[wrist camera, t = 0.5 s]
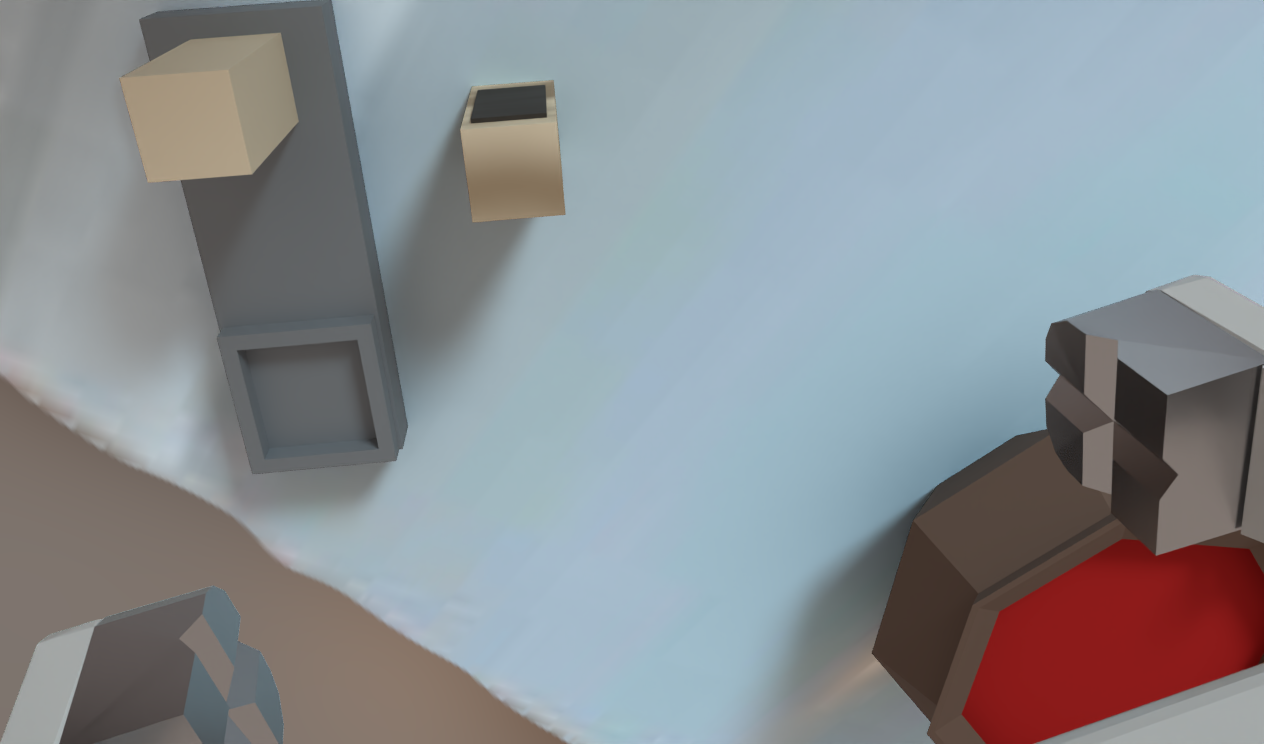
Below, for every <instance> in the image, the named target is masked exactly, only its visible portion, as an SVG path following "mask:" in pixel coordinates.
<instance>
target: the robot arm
mask: <svg viewBox="0 0 1264 744" xmlns="http://www.w3.org/2000/svg"><path fill="white" fill-rule="evenodd" d="M1045 361H1046V362H1047V363H1048V364H1049V365H1050V366H1051V367H1052V368H1053V369H1054V370H1055V371H1056V372H1057V373H1058V374H1059V375H1060V376H1059V377H1058V379H1057V381H1056V382H1055V384H1054V385H1053V387H1052V389H1051V390H1050V392H1049V394H1048V395H1047V397H1046V399H1045V403H1046V426H1047V430H1048V433H1049V435H1050V438H1051V441H1052V444H1053V447H1054V450H1055V453H1056V454H1057V456H1058V457H1059V459H1060V460H1061V462H1062V463H1063V465H1064V467H1065V468H1066V470H1067V471H1068V472H1069V473H1070V474H1071V475H1072V476H1073V477H1074V478H1075V479H1076V480H1077V481H1078V482H1079V483H1080V484H1081V485H1082V486H1085V487H1088V488H1092V489H1095V490H1098V491H1101V492H1105V493H1108V494H1111V514H1112V515H1113V516H1114V517H1115V518H1117V519H1118V520H1119V521H1120V522H1121V523H1122V524H1123V525H1124V526H1125V527H1126V528H1127V529H1128V530H1129V531H1130V532H1131V533H1132V534H1133V535H1134V536H1136V537H1137V538H1138V539H1139V540H1140V541H1141V542H1142V543H1143V544H1144V545H1145V546H1146V547H1147V548H1148V549H1149V550H1150V551H1151V552H1152V553H1153V554H1155V555H1156V556H1157V555H1160V554H1163V553H1167V552H1170V551H1173V550H1176V549H1179V548H1183V547H1186V546H1189V545H1192V544H1196V543H1199V542H1202V541H1205V540H1209V539H1212V538H1215V537H1218V536H1222V535H1225V534H1228V533H1231V532H1235V531H1238V530H1241V534H1242V535H1245V536H1247V537H1250V538H1252V539H1255V540H1257V541H1260V542H1262V543H1264V307H1263V306H1261V305H1259V304H1257V303H1255V302H1254V301H1252V300H1250V299H1248V298H1247V297H1245V296H1243V295H1241V294H1240V293H1238V292H1236V291H1234V290H1233V289H1231V288H1229V287H1227V286H1226V285H1224V284H1222V283H1220V282H1219V281H1217V280H1215V279H1213V278H1212V277H1208V276H1200V275H1191V276H1188V277H1186V278H1183V279H1180V280H1177V281H1174V282H1171V283H1168V284H1165V285H1163V286H1160V287H1157V288H1154V289H1151V290H1148V291H1146V293H1144V294H1141V295H1138V296H1135V297H1131V298H1128V299H1125V300H1122V301H1119V302H1116V303H1113V304H1110V305H1107V306H1104V307H1101V308H1098V309H1095V310H1091V311H1088V312H1085V313H1082V314H1079V315H1076V316H1073V317H1070V318H1067V319H1064V320H1061V321H1058V322H1055V323H1051V326H1050V328H1049V331H1048V334H1047V337H1046V350H1045ZM239 626H240V615H239V613H238V612H237V610H236V609H235V607H234V605H233V604H232V602H231V600H230V599H229V597H228V595H227V594H226V592H225V591H224V590H222V589H220V588H217V587H215V586H210V587H207V588H203V589H200V590H196V591H193V592H190V593H186V594H183V595H179V596H176V597H173V598H169V599H166V600H162V601H159V602H155V603H152V604H149V605H145V606H142V607H138V608H135V609H131V610H129V611H125V612H121V613H118V614H115V615H111V616H107V617H105V618H104V619H101V620H94V621H91V622H88V623H85V624H82V625H79V626H75V627H72V628H69V629H66V630H62V631H59V632H56V633H53V634H50V635H48V636H47V637H46V638H44V639H43V640H42V641H40V642H39V643H38V644H37V646H36V648H35V650H34V653H33V656H32V658H31V661H30V664H29V666H28V669H27V672H26V674H25V677H24V680H23V682H22V685H21V688H20V690H19V693H18V696H17V699H16V701H15V704H14V707H13V709H12V712H11V715H10V718H9V720H8V723H7V725H6V728H5V731H4V734H3V736H2V739H1V742H0V744H283V725H284V724H283V717H282V711H281V705H280V698H279V693H278V690H277V687H276V684H275V682H274V679H273V676H272V674H271V671H270V669H269V667H268V665H267V663H266V661H265V659H264V658H263V656H262V654H261V652H260V651H259V650H256V649H254V648H252V647H250V646H247V645H245V644H243V643H241V642H239V641H238V633H239ZM1034 744H1264V663H1262V664H1259V665H1256V666H1253V667H1250V668H1247V669H1245V670H1242V671H1239V672H1236V673H1233V674H1230V675H1227V676H1225V677H1222V678H1219V679H1216V680H1213V681H1210V682H1208V683H1205V684H1202V685H1199V686H1196V687H1193V688H1191V689H1188V690H1185V691H1182V692H1179V693H1176V694H1173V695H1171V696H1168V697H1165V698H1162V699H1159V700H1156V701H1154V702H1151V703H1148V704H1145V705H1142V706H1139V707H1137V708H1134V709H1131V710H1128V711H1125V712H1122V713H1119V714H1117V715H1114V716H1111V717H1108V718H1105V719H1102V720H1100V721H1097V722H1094V723H1091V724H1088V725H1085V726H1083V727H1080V728H1077V729H1074V730H1071V731H1068V732H1065V733H1063V734H1060V735H1057V736H1054V737H1051V738H1048V739H1046V740H1043V741H1040V742H1037V743H1034Z"/></svg>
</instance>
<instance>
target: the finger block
mask: <svg viewBox="0 0 1264 744" xmlns="http://www.w3.org/2000/svg"><path fill="white" fill-rule="evenodd" d="M460 132H461V140H462V147H463V155H464V162H465V169H466V177H467V184H468V192H469V199H470V207H471V214H472V222H484V221H496V220H508V219H520V218H532V217H544V216H556V215H565V204H564V192H563V179H562V167H561V155H560V144H559V134H558V123H557V112H556V101H555V90H554V80H548V81H536V82H523V83H510V84H497V85H484V86H472V88H471V92H470V96H469V99H468V103H467V107H466V110H465V114H464V118H463V121H462V125H461V129H460Z"/></svg>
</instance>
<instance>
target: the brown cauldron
mask: <svg viewBox="0 0 1264 744" xmlns="http://www.w3.org/2000/svg"><path fill="white" fill-rule="evenodd" d="M872 654H873V655H874V656H875V657H876V659H877V660H878V661H879V662H880V663H881V664H882V666H883V667H884V668H885V669H886V670H887V671H888V673H889V674H890V675H891V676H892V677H893V679H894V680H895V681H896V682H897V683H898V684H899V686H900V687H901V688H902V689H903V690H904V691H905V693H906V694H907V695H908V696H909V697H910V698H911V700H912V701H913V702H914V703H915V704H916V705H917V707H918V708H919V709H920V710H921V711H922V712H923V714H924V715H925V716H926V717H927V718H928V719H929V721H930V722H931V724H930V726H929V729H928V732H927V735H928V736H929V737H930V738H931V739H932V740H933V741H934V743H935V744H1034V743H1037V742H1040V741H1043V740H1046V739H1048V738H1051V737H1054V736H1057V735H1060V734H1063V733H1065V732H1068V731H1071V730H1074V729H1077V728H1080V727H1083V726H1085V725H1088V724H1091V723H1094V722H1097V721H1100V720H1102V719H1105V718H1108V717H1111V716H1114V715H1117V714H1119V713H1122V712H1125V711H1128V710H1131V709H1134V708H1137V707H1139V706H1142V705H1145V704H1148V703H1151V702H1154V701H1156V700H1159V699H1162V698H1165V697H1168V696H1171V695H1173V694H1176V693H1179V692H1182V691H1185V690H1188V689H1191V688H1193V687H1196V686H1199V685H1202V684H1205V683H1208V682H1210V681H1213V680H1216V679H1219V678H1222V677H1225V676H1227V675H1230V674H1233V673H1236V672H1239V671H1242V670H1245V669H1247V668H1250V667H1253V666H1256V665H1259V664H1262V663H1264V543H1262V542H1260V541H1257V540H1255V539H1252V538H1250V537H1247V536H1245V535H1242V534H1241V530H1238V531H1235V532H1231V533H1228V534H1225V535H1222V536H1218V537H1215V538H1212V539H1209V540H1205V541H1202V542H1199V543H1196V544H1192V545H1189V546H1186V547H1183V548H1179V549H1176V550H1173V551H1170V552H1167V553H1163V554H1160V555H1157V556H1156V555H1155V554H1153V553H1152V552H1151V551H1150V550H1149V549H1148V548H1147V547H1146V546H1145V545H1144V544H1143V543H1142V542H1141V541H1140V540H1139V539H1138V538H1137V537H1136V536H1134V535H1133V534H1132V533H1131V532H1130V531H1129V530H1128V529H1127V528H1126V527H1125V526H1124V525H1123V524H1122V523H1121V522H1120V521H1119V520H1118V519H1117V518H1115V517H1114V516H1113V515H1112V514H1111V494H1108V493H1105V492H1101V491H1098V490H1095V489H1092V488H1088V487H1085V486H1082V485H1081V484H1080V483H1079V482H1078V481H1077V480H1076V479H1075V478H1074V477H1073V476H1072V475H1071V474H1070V473H1069V472H1068V471H1067V470H1066V468H1065V467H1064V465H1063V463H1062V462H1061V460H1060V459H1059V457H1058V456H1057V454H1056V453H1055V450H1054V447H1053V444H1052V441H1051V438H1050V435H1049V433H1048V430H1047V429H1046V430H1041V431H1037V432H1032V433H1027V434H1022V435H1017V436H1015V437H1013V438H1012V439H1010V440H1008V441H1007V442H1005V443H1004V444H1002V445H1001V446H999V447H997V448H996V449H994V450H993V451H991V452H989V453H988V454H986V455H985V456H983V457H982V458H980V459H978V460H977V461H975V462H974V463H972V464H970V465H969V466H967V467H966V468H964V469H963V470H961V471H959V472H958V473H956V474H955V475H953V476H951V477H950V478H948V479H947V480H945V481H943V482H942V483H940V484H939V485H937V487H936V488H935V490H934V491H933V493H932V494H931V495H930V497H929V498H928V500H927V501H926V503H925V504H924V505H923V507H922V508H921V510H920V511H919V513H918V514H917V515H916V517H915V518H914V520H913V522H912V525H911V528H910V532H909V535H908V538H907V541H906V545H905V548H904V551H903V554H902V557H901V561H900V564H899V567H898V570H897V574H896V577H895V580H894V583H893V586H892V590H891V593H890V596H889V599H888V602H887V606H886V609H885V612H884V615H883V619H882V622H881V625H880V628H879V631H878V635H877V638H876V641H875V644H874V648H873V651H872Z"/></svg>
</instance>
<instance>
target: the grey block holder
mask: <svg viewBox="0 0 1264 744" xmlns="http://www.w3.org/2000/svg"><path fill="white" fill-rule="evenodd" d="M139 21H140V25H141V29H142V32H143V36H144V40H145V44H146V48H147V52H148V56H149V59H150V62H148V63H146V64H144V65H142V66H141V67H139V68H137V69H135V70H133V71H131V72H129V73H128V74H126V75H124V76H122V77H120V78H119V79H120V82H121V86H122V90H123V93H124V97H125V101H126V104H127V108H128V112H129V115H130V119H131V123H132V126H133V130H134V133H135V137H136V141H137V144H138V148H139V152H140V155H141V159H142V163H143V166H144V170H145V174H146V177H147V181H148V183H151V182H164V181H176V180H181V183H182V187H183V190H184V194H185V198H186V202H187V206H188V210H189V214H190V217H191V221H192V225H193V229H194V233H195V237H196V241H197V244H198V248H199V252H200V256H201V260H202V264H203V268H204V271H205V275H206V279H207V283H208V287H209V291H210V295H211V298H212V302H213V306H214V310H215V314H216V318H217V322H218V325H219V329H220V333H219V335H218V336H217V340H218V344H219V348H220V352H221V356H222V359H223V363H224V367H225V371H226V375H227V379H228V382H229V386H230V390H231V394H232V398H233V401H234V405H235V409H236V413H237V417H238V421H239V424H240V428H241V432H242V436H243V440H244V444H245V447H246V451H247V455H248V459H249V463H250V466H251V470H252V474H260V473H271V472H281V471H292V470H303V469H313V468H324V467H334V466H345V465H356V464H366V463H377V462H388V461H396V460H397V456H398V452H399V449H403V446H404V441H405V437H406V432H407V428H408V425H407V419H406V414H405V408H404V403H403V397H402V391H401V386H400V380H399V375H398V369H397V364H396V358H395V352H394V347H393V341H392V336H391V330H390V325H389V319H388V313H387V308H386V302H385V297H384V291H383V286H382V280H381V274H380V269H379V263H378V258H377V252H376V247H375V241H374V235H373V230H372V224H371V219H370V213H369V208H368V202H367V196H366V191H365V185H364V180H363V174H362V169H361V163H360V157H359V152H358V146H357V141H356V135H355V130H354V124H353V118H352V113H351V107H350V102H349V96H348V91H347V85H346V79H345V74H344V68H343V63H342V57H341V52H340V46H339V40H338V35H337V29H336V24H335V18H334V13H333V7H332V1H331V0H311V1H298V2H284V3H270V4H257V5H243V6H230V7H216V8H203V9H189V10H175V11H162V12H156V13H153V14H151V15H149V16H146V17H144V18H142V19H139Z"/></svg>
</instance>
